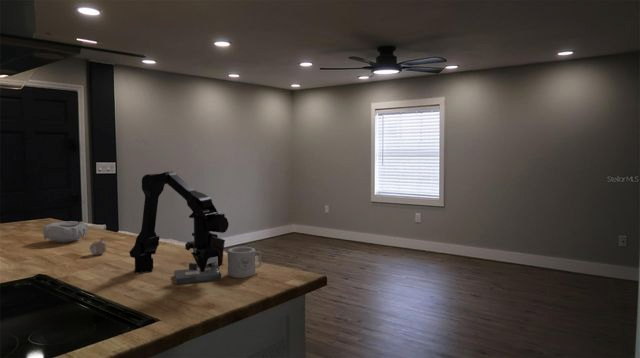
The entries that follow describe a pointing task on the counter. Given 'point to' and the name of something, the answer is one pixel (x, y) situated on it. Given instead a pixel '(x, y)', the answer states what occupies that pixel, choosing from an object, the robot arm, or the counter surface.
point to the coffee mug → (220, 258)
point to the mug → (242, 262)
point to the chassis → (197, 275)
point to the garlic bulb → (98, 247)
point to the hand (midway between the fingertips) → (202, 271)
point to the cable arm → (210, 260)
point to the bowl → (65, 231)
